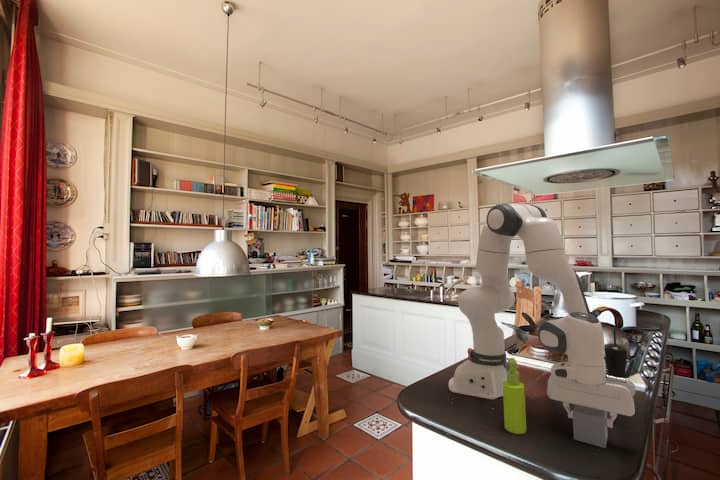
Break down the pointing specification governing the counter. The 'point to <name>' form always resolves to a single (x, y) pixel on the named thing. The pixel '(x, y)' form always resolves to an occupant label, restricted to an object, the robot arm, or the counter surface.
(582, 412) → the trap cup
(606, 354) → the drinking cup
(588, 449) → the counter surface
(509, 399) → the soap dispenser
